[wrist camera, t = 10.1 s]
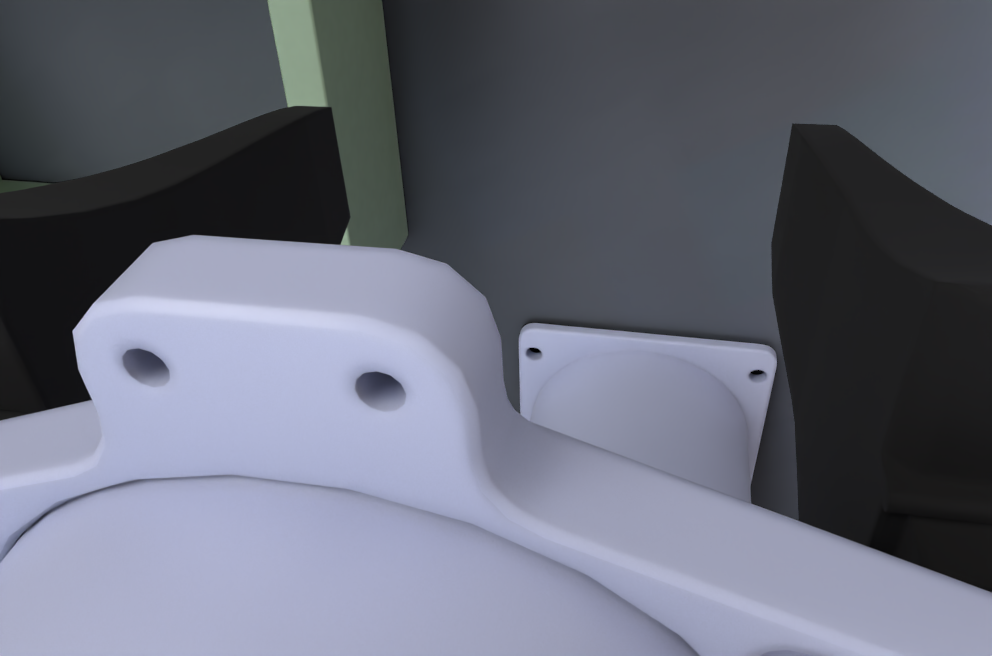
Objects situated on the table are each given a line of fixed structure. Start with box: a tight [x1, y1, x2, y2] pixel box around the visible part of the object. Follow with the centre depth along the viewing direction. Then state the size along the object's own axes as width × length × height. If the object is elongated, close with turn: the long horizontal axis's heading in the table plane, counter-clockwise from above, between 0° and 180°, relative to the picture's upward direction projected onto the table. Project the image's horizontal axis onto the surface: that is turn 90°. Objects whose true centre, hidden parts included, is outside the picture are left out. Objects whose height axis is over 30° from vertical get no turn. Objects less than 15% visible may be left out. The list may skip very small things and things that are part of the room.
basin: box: [0, 0, 408, 250], centre depth 21 cm, size 15×15×6 cm
